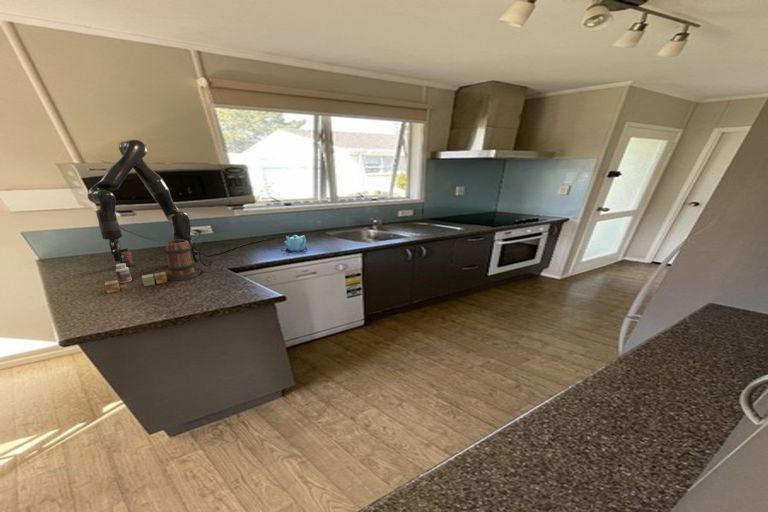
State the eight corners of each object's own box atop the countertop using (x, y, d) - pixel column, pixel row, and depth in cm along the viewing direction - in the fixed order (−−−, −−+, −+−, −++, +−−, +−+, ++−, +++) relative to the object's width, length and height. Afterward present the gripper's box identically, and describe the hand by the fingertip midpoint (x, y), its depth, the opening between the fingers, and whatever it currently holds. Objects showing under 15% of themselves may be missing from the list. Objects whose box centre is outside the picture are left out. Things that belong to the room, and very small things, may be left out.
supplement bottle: (126, 267, 174) (121, 250, 170) (118, 266, 175) (113, 249, 171) (136, 264, 180) (131, 247, 176) (128, 263, 181) (124, 246, 177)
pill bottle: (118, 281, 155) (113, 264, 152) (130, 278, 159) (126, 262, 156) (120, 284, 152) (114, 266, 148) (133, 281, 155) (128, 264, 152)
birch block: (120, 288, 147) (117, 279, 145) (119, 291, 144) (117, 282, 142) (108, 290, 144) (105, 282, 143) (107, 293, 141) (104, 285, 139)
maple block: (166, 279, 159) (165, 271, 157) (167, 281, 155) (165, 274, 154) (156, 281, 156) (154, 273, 154) (156, 284, 152) (154, 276, 151)
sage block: (154, 281, 155) (152, 273, 154) (155, 284, 152) (153, 276, 151) (144, 283, 153) (141, 275, 151) (144, 286, 149) (141, 278, 148)
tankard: (167, 282, 154) (159, 247, 148) (164, 273, 166) (156, 240, 160) (216, 272, 169) (210, 240, 163) (209, 265, 181) (204, 234, 174)
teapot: (306, 251, 211) (305, 237, 208) (285, 252, 208) (283, 238, 204) (306, 245, 225) (306, 232, 222) (287, 246, 222) (285, 233, 219)
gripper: (119, 230, 143) (127, 261, 148) (121, 225, 154) (128, 254, 159) (98, 232, 139) (107, 264, 144) (101, 227, 149) (110, 256, 154)
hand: (118, 259), depth 151 cm, fingers open, 8 cm apart
